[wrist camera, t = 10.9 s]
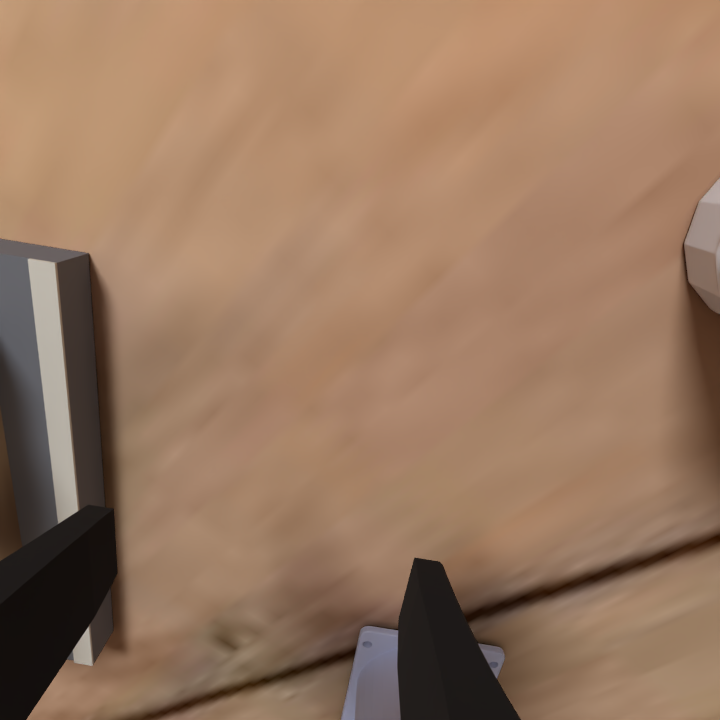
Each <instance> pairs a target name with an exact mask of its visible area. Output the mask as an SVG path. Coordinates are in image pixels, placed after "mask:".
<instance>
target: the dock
mask: <svg viewBox="0 0 720 720" xmlns="http://www.w3.org/2000/svg"><path fill="white" fill-rule="evenodd" d="M0 408H1V415H2V421H3V427H4V434H5V440H6V446H7V453H8V459H9V465H10V472H11V478H12V485H13V491H14V497H15V504H16V510H17V516H18V523H19V529H20V535H21V542H22V547H23V546H25V545H26V544H28V543H29V542H31V541H33V540H34V539H36V538H37V537H39V536H40V535H42V534H43V533H45V532H46V531H48V530H50V529H51V528H53V527H54V526H56V525H57V524H59V523H60V522H62V521H63V520H65V519H66V518H68V517H70V516H71V515H73V514H74V513H76V512H77V511H79V510H81V509H82V508H84V507H85V506H87V505H94V506H100V507H105V496H104V481H103V466H102V450H101V435H100V420H99V405H98V390H97V375H96V360H95V344H94V329H93V314H92V299H91V284H90V269H89V254H88V253H84V252H78V251H72V250H65V249H59V248H53V247H47V246H41V245H35V244H29V243H23V242H17V241H11V240H5V239H0ZM112 632H113V617H112V602H111V587H110V589H109V591H108V593H107V595H106V597H105V599H104V601H103V603H102V604H101V606H100V608H99V610H98V612H97V614H96V616H95V617H94V619H93V620H92V622H91V624H90V625H89V627H88V628H87V630H86V631H85V633H84V634H83V636H82V637H81V639H80V640H79V642H78V643H77V645H76V646H75V648H74V649H73V651H72V652H71V654H70V655H69V657H68V658H67V659H68V660H74V663H78V664H84V665H91V666H93V664H94V662H95V661H96V659H97V657H98V656H99V654H100V652H101V651H102V649H103V647H104V646H105V644H106V642H107V640H108V639H109V637H110V635H111V634H112Z"/></svg>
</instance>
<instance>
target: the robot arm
mask: <svg viewBox="0 0 720 720" xmlns="http://www.w3.org/2000/svg"><path fill="white" fill-rule="evenodd" d="M116 575H117V557H116V540H115V522H114V509H112V508H106V507H100V506H94V505H87V506H85V507H84V508H82V509H81V510H79V511H77V512H76V513H74V514H73V515H71V516H70V517H68V518H66V519H65V520H63V521H62V522H60V523H59V524H57V525H56V526H54V527H53V528H51V529H50V530H48V531H46V532H45V533H43V534H42V535H40V536H39V537H37V538H36V539H34V540H33V541H31V542H29V543H28V544H26V545H25V546H23V547H22V548H20V549H18V550H17V551H15V552H14V553H12V554H10V555H9V556H7V557H6V558H4V559H3V560H1V561H0V720H26V719H27V718H28V716H29V715H30V713H31V712H32V710H33V709H34V707H35V706H36V704H37V703H38V701H39V700H40V698H41V697H42V695H43V694H44V692H45V691H46V689H47V688H48V686H49V685H50V683H51V682H52V680H53V679H54V677H55V676H56V675H57V673H58V672H59V670H60V669H61V667H62V666H63V664H64V663H65V661H66V660H67V658H68V657H69V655H70V654H71V652H72V651H73V649H74V648H75V646H76V645H77V643H78V642H79V640H80V639H81V637H82V636H83V634H84V633H85V631H86V630H87V628H88V627H89V625H90V624H91V622H92V620H93V619H94V617H95V616H96V614H97V612H98V610H99V608H100V606H101V604H102V603H103V601H104V599H105V597H106V595H107V593H108V591H109V589H110V587H111V585H112V583H113V581H114V579H115V577H116ZM504 660H505V655H504V651H503V649H501V648H500V647H497V646H491V645H485V644H479V643H477V641H476V639H475V637H474V635H473V633H472V631H471V629H470V627H469V625H468V622H467V620H466V618H465V616H464V614H463V612H462V610H461V607H460V605H459V603H458V601H457V598H456V596H455V594H454V592H453V589H452V587H451V584H450V582H449V580H448V577H447V575H446V572H445V569H444V567H443V565H442V564H441V563H440V562H438V561H432V560H426V559H420V558H414V561H413V565H412V569H411V573H410V577H409V581H408V585H407V588H406V592H405V596H404V600H403V604H402V608H401V612H400V616H399V623H398V630H393V629H386V628H380V627H374V626H365V627H363V628H361V630H360V633H359V638H358V643H357V647H356V652H355V656H354V661H353V666H352V670H351V675H350V679H349V684H348V689H347V693H346V698H345V702H344V707H343V712H342V716H341V720H521V719H520V717H519V716H518V714H517V713H516V711H515V709H514V708H513V706H512V704H511V703H510V701H509V699H508V698H507V696H506V694H505V692H504V691H503V689H502V687H501V685H500V684H499V682H498V680H497V678H498V675H499V673H500V670H501V668H502V665H503V662H504Z"/></svg>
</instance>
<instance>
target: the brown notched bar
mask: <svg viewBox="0 0 720 720" xmlns="http://www.w3.org/2000/svg"><path fill="white" fill-rule="evenodd" d="M20 548H22V542H21V535H20V529H19V523H18V516H17V510H16V504H15V497H14V491H13V485H12V478H11V472H10V465H9V459H8V453H7V446H6V440H5V434H4V427H3V421H2V415H1V408H0V561H1V560H3V559H4V558H6V557H7V556H9V555H10V554H12V553H14V552H15V551H17V550H18V549H20Z"/></svg>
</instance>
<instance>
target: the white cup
mask: <svg viewBox="0 0 720 720" xmlns="http://www.w3.org/2000/svg"><path fill="white" fill-rule="evenodd" d="M684 249H685V258H686V267H687V275H688V282H689V283H690V284H691V286H692V287H693V288H694V289H695V291H696V292H697V293H698V294H699V296H700V297H701V298H702V299H703V301H704V302H705V303H706V305H707V306H708V307H709V308H710V309H711V310H712V311H714V312H716V313H718V314H720V178H719V179H718V180H717V181H716V182H715V184H714V185H713V186H712V187H711V188H710V189H709V191H708V192H707V193H706V194H705V195H704V196H703V198H702V199H701V200H700V201H699V203H698V205H697V208H696V211H695V214H694V217H693V219H692V222H691V225H690V228H689V231H688V233H687V236H686V239H685V242H684Z"/></svg>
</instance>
